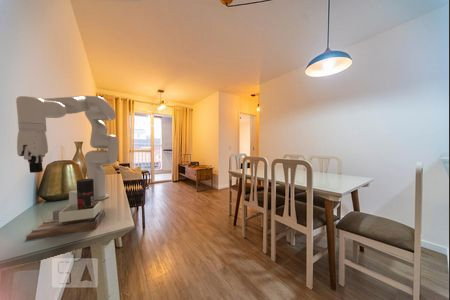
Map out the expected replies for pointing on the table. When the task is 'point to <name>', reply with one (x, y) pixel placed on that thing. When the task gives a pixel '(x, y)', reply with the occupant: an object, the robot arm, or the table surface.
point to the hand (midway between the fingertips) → (36, 172)
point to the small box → (73, 197)
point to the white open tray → (75, 213)
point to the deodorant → (85, 194)
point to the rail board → (65, 227)
